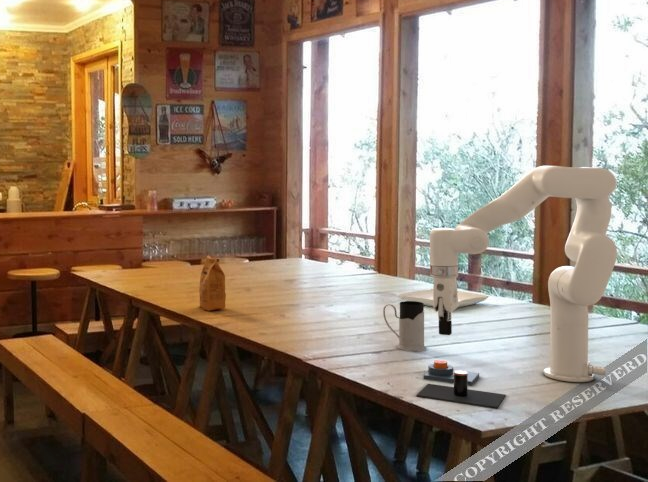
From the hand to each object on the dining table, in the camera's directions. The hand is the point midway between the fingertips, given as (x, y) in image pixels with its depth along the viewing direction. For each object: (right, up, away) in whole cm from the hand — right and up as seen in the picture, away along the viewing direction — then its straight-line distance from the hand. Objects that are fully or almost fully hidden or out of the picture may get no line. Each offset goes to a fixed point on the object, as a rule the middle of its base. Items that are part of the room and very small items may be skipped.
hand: (445, 334), depth 228 cm
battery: (-3, -13, -18) cm, 22 cm away
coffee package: (-59, -7, +107) cm, 122 cm away
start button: (-1, -10, 0) cm, 10 cm away
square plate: (+40, -5, +109) cm, 116 cm away
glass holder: (0, -11, +36) cm, 37 cm away
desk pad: (-3, -14, -18) cm, 23 cm away
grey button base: (+1, -12, -1) cm, 13 cm away
